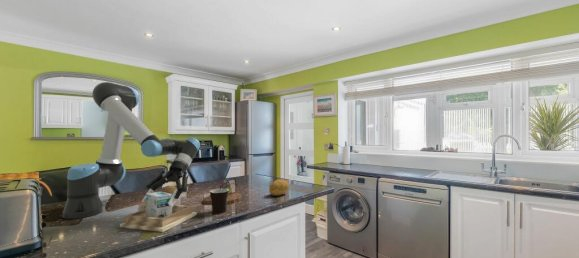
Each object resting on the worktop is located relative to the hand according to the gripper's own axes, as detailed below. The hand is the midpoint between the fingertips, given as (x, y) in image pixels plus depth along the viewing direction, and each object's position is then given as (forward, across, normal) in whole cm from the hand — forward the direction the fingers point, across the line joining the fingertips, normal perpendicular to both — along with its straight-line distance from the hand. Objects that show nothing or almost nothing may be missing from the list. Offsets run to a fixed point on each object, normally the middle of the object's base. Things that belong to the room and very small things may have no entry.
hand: (156, 204), depth 109 cm
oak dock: (+4, 0, -7) cm, 8 cm away
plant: (-22, -8, -34) cm, 42 cm away
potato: (-35, -36, -46) cm, 68 cm away
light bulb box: (+4, 0, -5) cm, 7 cm away
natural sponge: (-12, +16, -24) cm, 31 cm away
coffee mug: (-10, -18, -21) cm, 29 cm away
